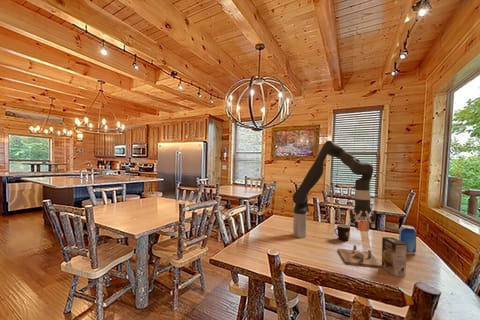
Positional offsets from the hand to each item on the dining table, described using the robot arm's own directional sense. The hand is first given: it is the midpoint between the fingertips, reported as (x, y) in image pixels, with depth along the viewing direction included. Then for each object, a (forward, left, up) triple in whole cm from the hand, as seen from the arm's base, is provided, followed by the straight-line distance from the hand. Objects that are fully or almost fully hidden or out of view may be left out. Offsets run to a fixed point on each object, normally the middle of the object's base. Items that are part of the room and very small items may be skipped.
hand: (362, 228), depth 119 cm
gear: (0, 0, -1) cm, 1 cm away
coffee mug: (-2, +36, -19) cm, 41 cm away
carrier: (0, +6, -19) cm, 20 cm away
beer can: (+34, +24, -19) cm, 46 cm away
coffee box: (+13, -5, -20) cm, 24 cm away
